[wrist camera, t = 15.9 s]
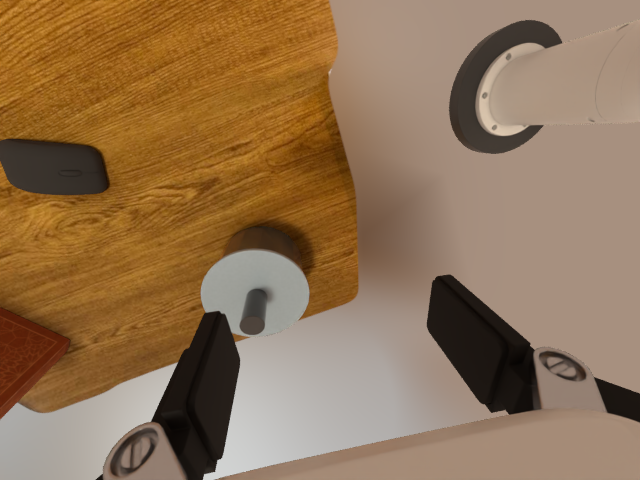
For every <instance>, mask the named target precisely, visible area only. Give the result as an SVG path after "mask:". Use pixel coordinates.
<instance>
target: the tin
mask: <svg viewBox="0 0 640 480" xmlns="http://www.w3.org/2000/svg"><path fill="white" fill-rule="evenodd" d="M244 249H266V250H271V251H275V252H278V253H280V254H282V255H284V256H286V257H288V258H289V259H291V260H292V261H294V262H295V263H296V264H297V265H298V266H299V267H300V269H301V270H302V262H301V255H300V251H299V249H298V247H297V245H296V244H295V242H294V241H293V240H292V239H291V238H290V237H289V236H288V235H287V234H285V233H283V232H282V231H280V230H277V229H274V228H271V227H262V226H260V227H252V228H248V229H245V230H243V231H240V232H239V233H237V234H236V235H234V236H233V237H232V238H231V239H230V240H229V242H228V243H227V245H226V246H225V247H224V249H223V251H222V253H221V255H220V257H219V259H221V258H223V257H224V256H226V255H228V254H230V253H233V252H236V251H239V250H244ZM219 259H218V260H219ZM302 271H303V270H302Z"/></svg>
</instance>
